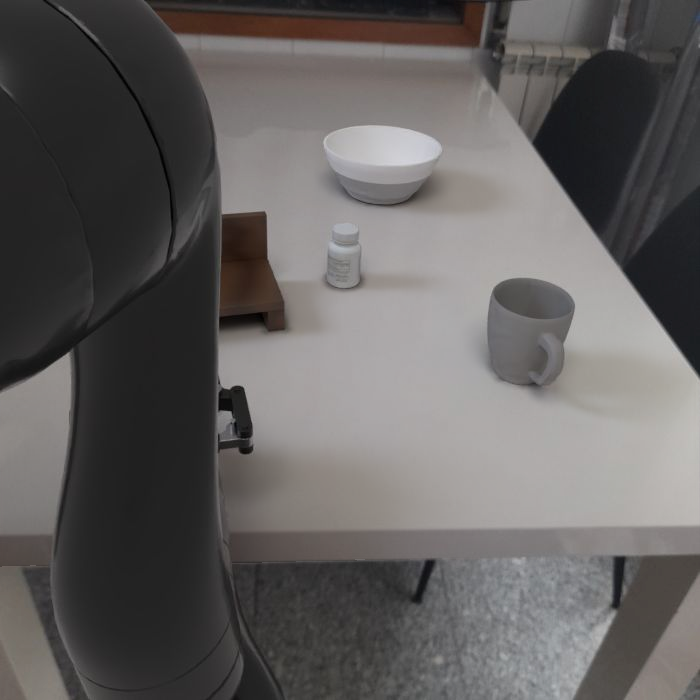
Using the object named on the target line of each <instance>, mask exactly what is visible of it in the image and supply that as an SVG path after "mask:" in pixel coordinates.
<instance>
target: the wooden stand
mask: <svg viewBox="0 0 700 700" xmlns="http://www.w3.org/2000/svg"><path fill="white" fill-rule="evenodd" d="M268 251H269V250H268V216H267V213H266V211H265V210H264V211H249V212H248V211H247V212H236V213H235V212H234V213H222V237H221V269H220V299H219V318H221V317H229V316H239V315H246V314H247V315H248V314H257V313H261V314H262V317H263V320H264V324H265V326H266V329H267V331H268V332H276V331H284V330H286V329H285V327H286V326H285V325H286V324H285V299H284V296H283V294H282V292H281V290H280V287H279V284H278V282H277V279H276V276H275V274H274V271H273V268H272V266H271V264H270V260H269V258H268V256H269V255H268V253H269V252H268Z"/></svg>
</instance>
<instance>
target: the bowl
mask: <svg viewBox="0 0 700 700" xmlns="http://www.w3.org/2000/svg"><path fill="white" fill-rule="evenodd" d="M322 146H323V148H324V151H325V154H326V157H327V160H328V164H329V165H330V168H331V169H332V171H333V173H334V175H335V177H337V179H338V181H339V183H340V185H341V186H342V187H343V188H344V189H345V190H346V192H347V194H348V195H349V196H350V197H352V198H353V199H355V200H357V201H359V202H364V203H367V204H373V205H394V204H399V203H403V202H406V201H407V200H409V199H410V198H411V197H412V196H413V194H415V193H416V192H418V191H419V190H420V188H421V187H422V185H423V184H424V183H425V182H426V181H427V180H428V179H429V177H430V176H431V175H432V173H433V172H434V170H435V168H436V167H437V164H438V162H439V160H440V158H441V157H442V154H443V147H442V144H441V143H440V142H439V141H438V140H437V139H435V138H434V137H432V136H430V135H428V134H427V133H423V132H420V131H417V130H414V129H409V128H406V127H405V128H404V127H399V126H391V125H380V124H379V125H378V124H377V125H375V124H373V125H372V124H371V125H369V124H368V125H365V124H364V125H355V126H348V127H343V128H340V129H337V130H333V131H332V132H330V133H329V134H327V135H326V136H325V137H324V139H323V143H322Z"/></svg>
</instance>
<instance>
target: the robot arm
mask: <svg viewBox="0 0 700 700" xmlns="http://www.w3.org/2000/svg"><path fill="white" fill-rule="evenodd" d="M212 116H213V115H212V110H211V107H210V104H209V101H208V98H207V95H206V93H205V90H204V88H203V86H202V83H201V81H200V78H199V76H198V73H197V71H196V68H195V65H194V64H193V62H192V60H191V59H190V57H189V55H188V54H187V52H186V51H185V48H184V47H183V45H182V44H181V42H180V41H179V39H178V38H177V36H176V35H175V33H174V32H173V30H171V28H170V27H169V25H167V24H166V23H165V22H164V20H163V19H162V18H161V17H160V15H158V14H157V12H156V11H155V10H154V9H153V8H152V7H151V6H150V4H148V2H147V1H145V0H0V394H3V393H5V392H7V391H9V390H12V389H13V388H15V387H18V386H20V385H22V384H24V383H26V382H27V381H29V380H31V379H33V378H35V377H36V376H37V375H40V374H41V373H43V372H44V371H45V370H46V369H48V368H49V367H51V366H52V365H54V364H55V363H57V362H58V361H59V360H60V359H62V358H63V357H64V356H66V355H67V354H68V356H69V367H70V369H69V370H70V400H69V401H70V402H69V403H70V405H69V413H68V433H67V441H66V442H67V443H66V451H65V458H64V465H63V472H62V477H61V483H60V488H59V493H58V499H57V506H56V513H55V518H54V525H53V532H52V533H53V534H52V541H51V553H50V569H49V571H50V572H49V583H50V597H51V603H52V607H53V614H54V621H55V625H56V628H57V631H58V634H59V637H60V639H61V642H62V645H63V647H64V649H65V652H66V653H67V656H68V658H69V659H70V662H71V664H72V665H73V668H74V670H75V672H76V674H77V677H78V679H79V681H80V683H81V685H82V687H83V690H84V692H85V695H86V697H87V699H88V700H288V698H287V696H286V693H285V692H284V690H283V687H282V685H281V683H280V682H279V679H278V678H277V676H276V675H275V673H274V671H273V669H272V668H271V666H270V664H269V663H268V661H267V659H266V658H265V656H264V654H263V653H262V651H261V649H260V647H259V645H258V643H257V642H256V640H255V638H254V636H253V634H252V632H251V630H250V628H249V625H248V623H247V621H246V618H245V616H244V613H243V609H242V606H241V603H240V597H239V594H238V590H237V589H238V588H237V585H236V578H235V571H234V566H233V561H232V556H231V548H230V525H229V523H230V522H229V515H228V512H227V511H228V510H227V507H226V501H225V496H224V490H223V484H222V479H221V474H220V468H219V454H220V452H221V451H222V450H223V451H224V450H229V449H237V450H238V453H240V454H241V455H244V456H245V455H246V456H247V455H250V454H252V453H253V452H254V449H255V448H254V426H253V421H252V417H251V411H250V407H249V404H248V399H247V395H246V390H245V388H244V386H242V385H240V384H239V385H237V384H236V385H233V386H231V387H230V388H226V387H223V386H222V383H221V379H220V375H219V362H220V360H219V359H220V358H219V357H220V356H219V355H220V354H219V353H220V350H219V349H220V345H219V344H220V343H219V341H220V340H219V339H220V336H219V335H220V317H219V299H220V269H221V237H222V214H223V208H222V207H223V206H222V205H223V204H222V199H223V198H222V196H223V195H222V174H221V164H220V152H219V146H218V139H217V133H216V129H215V128H216V127H215V124H214V121H213V117H212ZM223 412H230V413H231V418H230V420H229V423H227V424H226V426H225V429H224V431H223V432H221V433H219V418H220V416H221V415H222V413H223Z"/></svg>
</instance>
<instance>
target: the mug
mask: <svg viewBox="0 0 700 700" xmlns="http://www.w3.org/2000/svg"><path fill="white" fill-rule="evenodd" d="M575 310H576V302H575V300H574V298H573V297H572V295H571V294H570V293H569V292H568V291H567V290H565V289H564V288H562V287H561V286H559V285H556V284H555V283H553V282H549V281H546V280H543V279H539V278H532V277H514V278H509V279H504V280H501V281H500V282H499V283H497V284H496V285H495V286H494V287H493V289H492V291H491V294H490V297H489V303H488V310H487V321H486V337H487V345H488V351H489V354H490V358H491V361H492V367H493V371H494V373H495V375H496V376H498V377H499V378H500V379H502V380H503V381H505V382H508V383H510V384H514V385H523V386H525V385H531V384H534V383H535V384H536V385H539V386H550V385H552V384H553V383H554V382H556V380H557V379H558V378H559V376H560V375H561V373H562V371H563V369H564V365H565V355H566V354H565V353H566V352H565V351H566V350H565V346H564V344H565V341H566V339H567V336H568V334H569V331H570V328H571V325H572V322H573V319H574V317H575Z"/></svg>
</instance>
